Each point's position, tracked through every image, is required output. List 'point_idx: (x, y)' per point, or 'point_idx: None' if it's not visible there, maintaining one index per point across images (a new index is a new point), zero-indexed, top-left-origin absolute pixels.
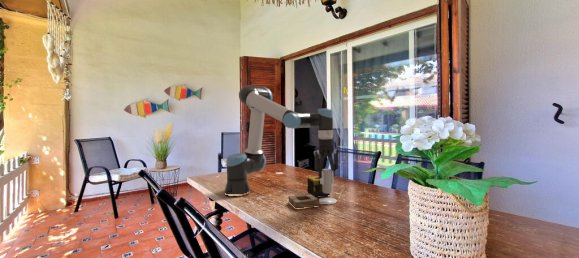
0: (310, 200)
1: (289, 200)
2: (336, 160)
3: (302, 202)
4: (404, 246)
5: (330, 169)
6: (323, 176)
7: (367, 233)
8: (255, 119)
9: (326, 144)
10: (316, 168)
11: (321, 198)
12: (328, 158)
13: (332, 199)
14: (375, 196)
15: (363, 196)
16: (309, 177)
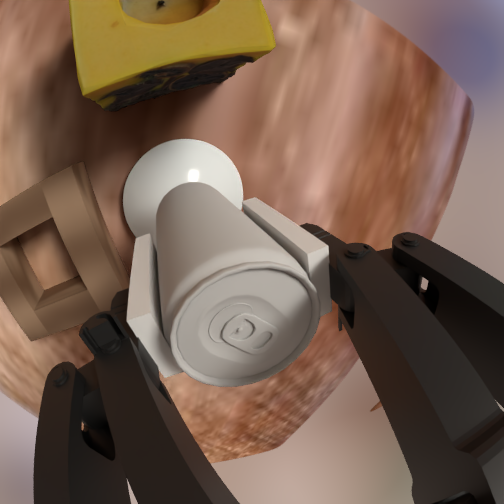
0: (85, 313)
1: None
2: (474, 368)
3: (53, 332)
4: (286, 439)
5: (313, 310)
6: None
7: (251, 428)
8: None
9: None
10: (90, 437)
11: (153, 152)
12: (445, 443)
13: (220, 180)
14: (414, 144)
15: (383, 129)
16: None
